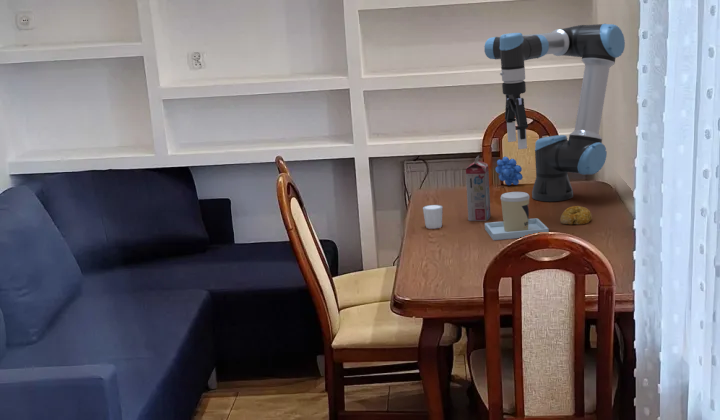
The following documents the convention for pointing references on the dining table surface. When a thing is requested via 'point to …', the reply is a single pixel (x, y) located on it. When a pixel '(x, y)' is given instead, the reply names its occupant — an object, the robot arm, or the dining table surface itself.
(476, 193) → the juice carton
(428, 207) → the white tapered cylinder
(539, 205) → the dining table surface
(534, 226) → the tray
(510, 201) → the coffee cup
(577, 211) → the bagel
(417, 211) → the dining table surface
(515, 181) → the grapes
